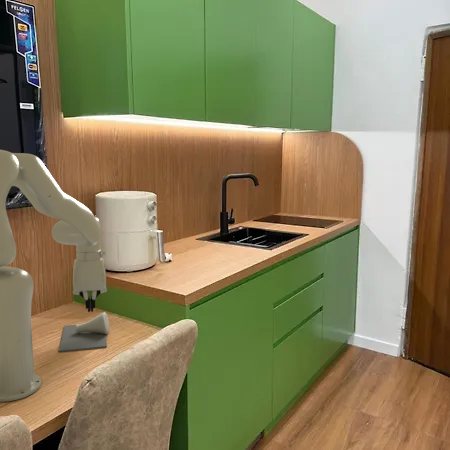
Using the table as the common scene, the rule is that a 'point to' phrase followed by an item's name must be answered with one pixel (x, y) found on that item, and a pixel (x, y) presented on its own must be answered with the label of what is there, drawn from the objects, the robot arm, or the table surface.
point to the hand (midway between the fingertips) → (90, 310)
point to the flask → (95, 325)
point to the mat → (81, 340)
